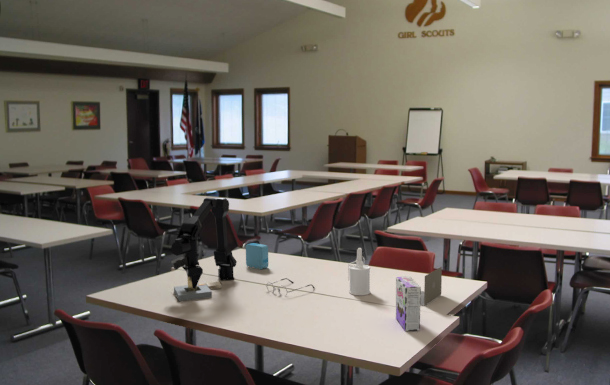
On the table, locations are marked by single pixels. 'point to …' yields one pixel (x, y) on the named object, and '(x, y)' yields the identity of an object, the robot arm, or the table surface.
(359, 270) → the white squeeze bottle
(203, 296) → the hole plate
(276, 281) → the eyeglasses
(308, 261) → the table surface
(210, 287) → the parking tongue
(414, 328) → the candy box
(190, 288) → the brass peg
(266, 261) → the data package
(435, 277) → the laptop
